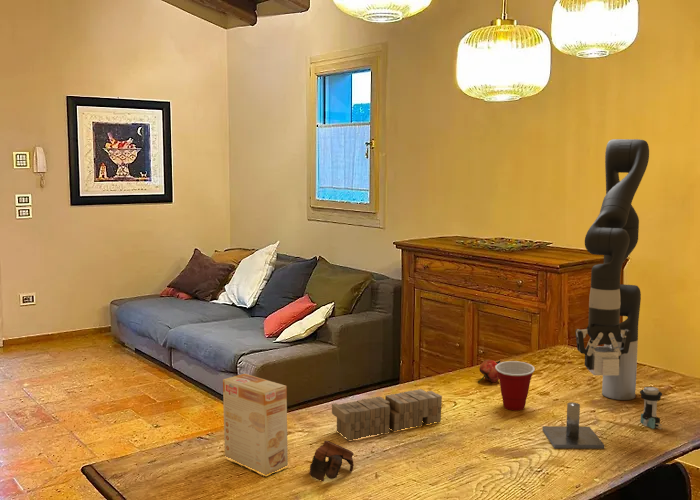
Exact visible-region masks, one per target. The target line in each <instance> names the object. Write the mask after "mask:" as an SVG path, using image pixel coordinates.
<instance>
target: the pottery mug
mask: <svg viewBox="0 0 700 500" xmlns="http://www.w3.org/2000/svg"><path fill="white" fill-rule="evenodd" d="M353 456H354V452H352V451H351V450H349V449H347V448H345V447H343V446H341V445H338V444H336V443H334V442H331V441H328V440H324V441H323V444H322V445H320V446H319V447H318V448H317V449H315V452H314V455H313V457H312V461H311V463H310V466H309V472H308V475H310V476H311V477H312V478H314V479H315V480H318V481H320V480H321V481H320V482H322V481H323V482H324V481H325V476H326V477H327V478H328V479H330V480H333V479H334V480H335V479H337V477H338V475H339V472H340V470H341V468H342V465H343V461H346V462H347V463H348V464H349V472H350V471H351V472H350V473H352V472H353V471H354V470H353V469H354V466H355V465H354V460H353ZM327 458H328V459H327ZM326 459H327V461H326Z"/></svg>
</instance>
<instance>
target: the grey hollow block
mask: <svg viewBox="0 0 700 500" xmlns="http://www.w3.org/2000/svg"><path fill="white" fill-rule="evenodd" d="M591 356H592V370H588V371H589V372H590V373H591V374H592V375H593V376H603V375H619V360H620V359H618V357H619V352H617V351H615V350H614V349H612V348H611V346H604V345H602V346H601V345H597V347H596V349H594V351H593V353H592V355H591Z"/></svg>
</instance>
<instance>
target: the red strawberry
mask: <svg viewBox="0 0 700 500" xmlns="http://www.w3.org/2000/svg"><path fill="white" fill-rule="evenodd" d="M498 363H501V360H498V361H495V360H493V359H486V360H484V361H483V362H481V364H480V365H479V372H480V373H481V374H482V375H483V376H482V377H481V378H480V379H479V380H478V381H477V383H480V382H481V381H482V380H483V379H485V380H486V381H489V382H491V383H496V382H498V381H500V380H499V376H498V372H497V370H496V367H495V366H496V365H497V364H498Z"/></svg>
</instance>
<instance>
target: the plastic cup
mask: <svg viewBox="0 0 700 500" xmlns="http://www.w3.org/2000/svg"><path fill="white" fill-rule="evenodd" d="M495 367H496V370H497V372H498V376H499V380H498V381H499V387H500V392H501V393H500V395H501V398H502V405H503V408H504V409H506V410H508V411H515V412H516V411H517V412H518V411H523V410H524V409H525V407H526V405H527V404H526V402H527V398H528V395H529V390H530V385H531V380H532V377H533V373H534V372H535V370H536V369H535V366H534V365H532V364H530V363H528V362H524V361H517V360H509V361H502V362H500V363H498V364H497V365H496V366H495Z"/></svg>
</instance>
